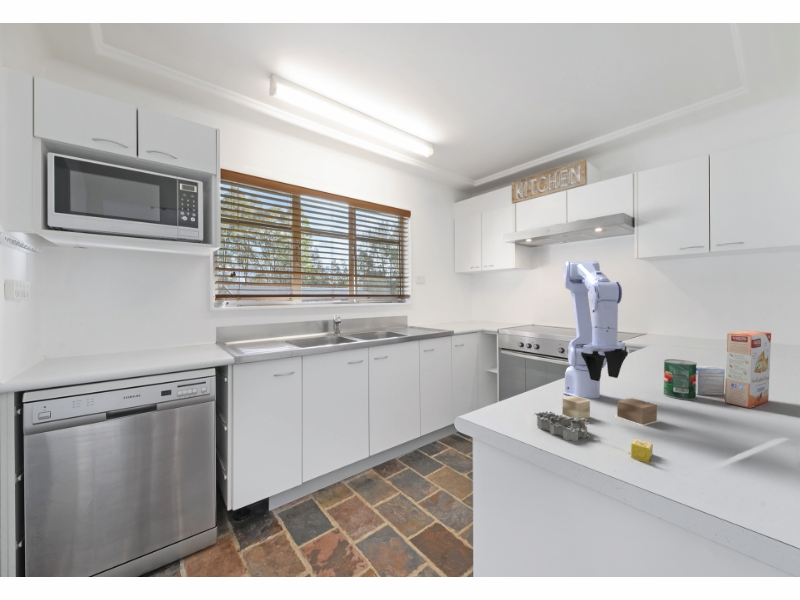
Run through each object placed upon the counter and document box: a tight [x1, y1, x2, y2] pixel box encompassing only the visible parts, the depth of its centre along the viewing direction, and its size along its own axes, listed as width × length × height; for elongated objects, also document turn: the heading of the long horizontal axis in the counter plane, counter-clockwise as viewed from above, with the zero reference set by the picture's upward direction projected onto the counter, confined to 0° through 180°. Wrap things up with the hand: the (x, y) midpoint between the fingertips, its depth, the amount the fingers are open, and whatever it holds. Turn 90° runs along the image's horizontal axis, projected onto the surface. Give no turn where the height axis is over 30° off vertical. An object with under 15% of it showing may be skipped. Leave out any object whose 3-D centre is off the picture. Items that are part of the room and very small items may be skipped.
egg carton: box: [534, 410, 591, 442], centre depth 80 cm, size 11×8×4 cm
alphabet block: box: [630, 438, 654, 464], centre depth 67 cm, size 3×3×3 cm
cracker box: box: [724, 330, 772, 409], centre depth 101 cm, size 14×6×21 cm, turn 117°
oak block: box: [562, 395, 591, 419], centre depth 88 cm, size 4×4×5 cm
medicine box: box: [696, 365, 726, 396], centre depth 110 cm, size 8×4×9 cm, turn 84°
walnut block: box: [616, 397, 658, 426], centre depth 86 cm, size 6×6×4 cm
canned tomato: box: [662, 358, 697, 401], centre depth 107 cm, size 8×8×11 cm
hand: (604, 378), depth 90 cm, fingers open, 7 cm apart
